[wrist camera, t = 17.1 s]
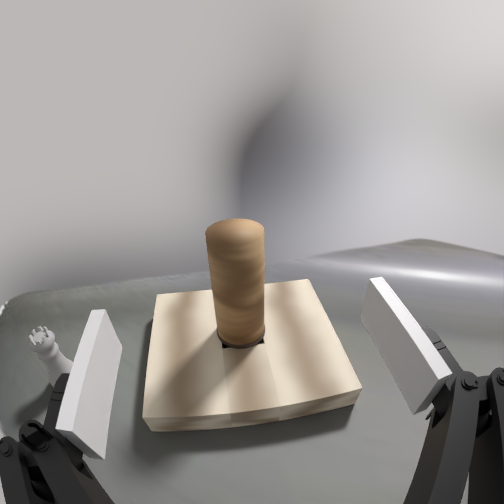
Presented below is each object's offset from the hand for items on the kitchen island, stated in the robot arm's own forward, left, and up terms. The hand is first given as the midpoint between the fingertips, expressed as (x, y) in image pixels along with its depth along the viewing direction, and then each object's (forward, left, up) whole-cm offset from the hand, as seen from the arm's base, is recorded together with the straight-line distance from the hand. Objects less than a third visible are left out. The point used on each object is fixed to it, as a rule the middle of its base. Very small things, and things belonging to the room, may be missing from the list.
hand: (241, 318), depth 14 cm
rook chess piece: (+20, -8, -17) cm, 27 cm away
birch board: (-1, -11, -16) cm, 20 cm away
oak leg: (-1, -12, -16) cm, 21 cm away
